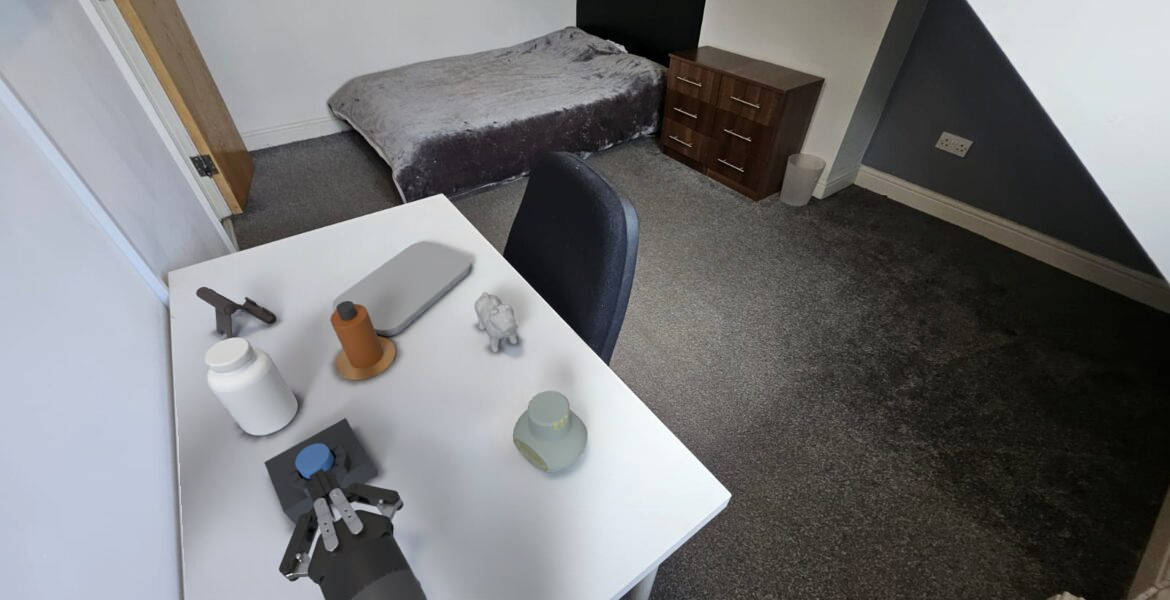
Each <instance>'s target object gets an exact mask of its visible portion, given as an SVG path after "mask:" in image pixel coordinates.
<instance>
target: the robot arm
mask: <svg viewBox="0 0 1170 600" xmlns="http://www.w3.org/2000/svg"><path fill="white" fill-rule="evenodd" d="M309 477H310V479H311V480H310V481H308V482H307V485H306V487H307V489H308V491H309V494H310V496H311V498H312V500H313V503H314V504H313V507H312V509H311V510H310V511H309V512H308V513H303V514H302V515H301V516H300V517H299V519H298V521H297V524H296V525H294V526H295V527H294V529H293V532H292V534H291V536H290V539H289V542H288V544H287V547H286V549H285V551H284V554H283V556H282V559H281V562H280V565H279V567H278V571H279V573H280V574H281V575H282V576H283V577H284V578H285V579H287V580H288V581H290V582H292V583H293V582H296V581H298V580H299V579H300V578H309V579H310V580H311V581H312V582H313V583H314V584H316V585H318V586H319V588H320V591H321V593H322V595H323V599H324V600H428V598H427V595H426V593H425V591H424V590H423V588H422V584H421V582H420V581H419V579H418V578H417V576H416V575H415V573H414V571H413V569H412V568H411V565H410V564H409V562H408V560H407V558H406V556H405V555H404V553H403V551H402V549H401V547H400V546H399V544H398V541H397V540H396V538H395V535H394V531H395V527H394V523H393V522H392V521H393V519H394V517H395V514H396V513H397V512H399V511H401V510H402V509H403V507H404V501H403V499H402V497H401V495H400V493H399V492H398V491H397V490H394V489H389V488H385V487H380V486H374V485H369V484H365V483H364V484H360V483H352V484H351V485H350V486H349V487H347V488H341V487H340V485H339V483H338V481H337V479H336V477H335V476H334V474H333V473H332V471H330V470H329V469H328V470H327V471H325V472H324V470H323V469H322V468H321V469H320V470H318V471H316V472H315V473H313V474H311V475H309ZM331 501H332V502H333V503H332V502H331ZM353 503H356V504H361V505H365V506H370V507H375V508H377V510H378V511H379V513H376V512H372V511H368V510H364V509H355V510H354V508H353V506H352V505H351V504H353ZM332 504H334V506H335V508H336V510H337V511H338V513H339V515H340V516H341V517H340V518H339V519H337V518H336V515H335V512H334V510H333V507H332ZM380 513H381V514H380ZM318 529H319V530H320V533H319V535H318V537H317V539H316V542H315V545H314V548H313V552H312V554H311V556H309V555H310V551H311V548H312V545H313V543H314V540H315V538H316V534H317V532H318Z"/></svg>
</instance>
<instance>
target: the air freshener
mask: <svg viewBox="0 0 1170 600" xmlns="http://www.w3.org/2000/svg"><path fill="white" fill-rule="evenodd" d="M512 442H513V444H514V446H515V448H516V449H517V450H518V451H519V453H520V454H521V455H522V456H523V457H524V458H525V459H526V460H527V461H528V462H529V463H531V464H532V466H535V467H536V468H537V469H539V470H540V471H542V472H545V473H556V472H559V471H563V470H566V469H567V468H569V467H571V466H572V465H573V464H575V463H576V462H577V461H578V460H579V459H580V458H581V456H582V455H583V453H584V452H585V449H586V448H587V443H588V429H587V425H586V424H585V423H584V421H583V420H582V419H581V417H579V416H578V415H577V414H576V413H575V412H574V411H573V410H572V409H571V405H570V401H569V399H568V398H567V397H566V396H565V395H564V394H562V393H560V392H558V391H555V390H545V391H542V392H539V393H537V394H536V395H534V396H533V397H532V399H530V400H529V401H528V405H527V409H526V410H525V411H523V413H522V414H520V416H519V417H518V419H517V420H516V422H515V424H514V427H513V430H512Z"/></svg>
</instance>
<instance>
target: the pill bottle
mask: <svg viewBox="0 0 1170 600" xmlns="http://www.w3.org/2000/svg"><path fill="white" fill-rule="evenodd" d="M204 362H205V363H206V365H207V366H208V368H209V369H208V370H207V374H206V381H207V385H208V386H209V388H210V390H211V391H212V392H213V394H215V396H216V397H217V398H218V400H219V401H220V402H221V403H222V405H223V406H224V408H225V409H226V410H227V411H228V412H229V414H230V415H231V417H233V419H234V420H235V421H236V423H237V424H238V426H239V427H240V429H242V430H243V431H244V432H245V433H247V434H249V435H251V436H267V435H270V434H273V433H275V432H278V431H280V430H281V429H283V428H284V427H286V426H287V425H288V424H289V423H291V421H292V420H293V419H294V418H295V416H296V414H297V412H298V409H299V408H298V407H299V406H298V405H299V404H298V400H297V398H296V396H295V394H294V393H293V391H292V390H291V388H290V387H289V385H288V383H287V381H286V380H285V378H284V376H283V375H282V373H281V372H280V369H279V367H278V366H277V364H276V363H275V362H274V360H273V358H272V357H271V355H270V354H269V352H267V351H266V350H264V349H261V348H259V347H253V346H252V345H251V343H250V341H248V340H247V339H246V338H242V337H232V338H229V339H227V338H225V339H223V340H221V341H218V342H216V343H215V344H213V345H212V346H211V347H210V348H209V349H208V350H207V351H206V353H205V355H204Z"/></svg>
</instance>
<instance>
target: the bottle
mask: <svg viewBox="0 0 1170 600" xmlns="http://www.w3.org/2000/svg"><path fill="white" fill-rule="evenodd" d="M329 321H330V324H331V326H332V328H333V331H334V333H335V335H336V337H337V338H338V341H339V343H340V345H341V348H342V350H343V349H344V351H345V353H346V356H347V358H348V360H349V362H350V364H351V365H352V366H353V367H355V368H361V369H362V368H368V367H371V366H373V365H375V364H376V363H378V362H379V361H380V360H381V358H382V356H383V350H382V347H381V345H380V342H379V340H378V337H379V336H378V335H377V334H378V333H376V332H375V329H374V327H373V324H372V322H371V319H370V317H369V314H368V311H367V309H366V308H365V307H364V306H362V305H359V304H353V302H351V301H344V302H342V303H340V304H338V305H337V307H336V311H334V312H333V313H332V314H331V316H330V320H329ZM377 336H378V337H377Z"/></svg>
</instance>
